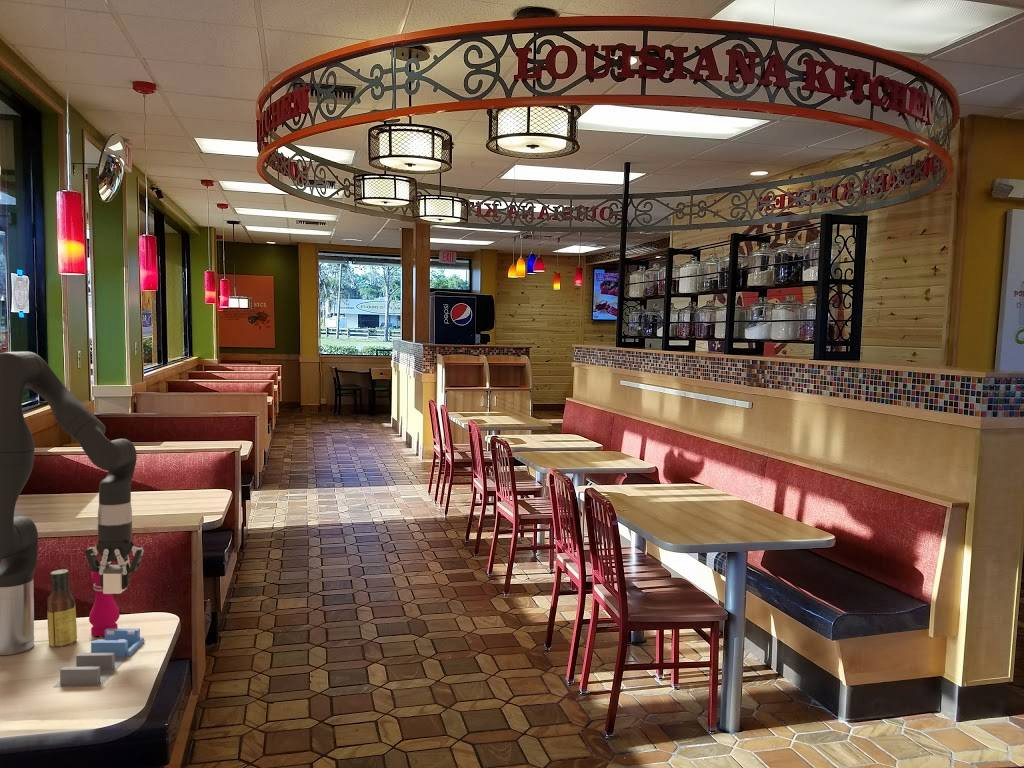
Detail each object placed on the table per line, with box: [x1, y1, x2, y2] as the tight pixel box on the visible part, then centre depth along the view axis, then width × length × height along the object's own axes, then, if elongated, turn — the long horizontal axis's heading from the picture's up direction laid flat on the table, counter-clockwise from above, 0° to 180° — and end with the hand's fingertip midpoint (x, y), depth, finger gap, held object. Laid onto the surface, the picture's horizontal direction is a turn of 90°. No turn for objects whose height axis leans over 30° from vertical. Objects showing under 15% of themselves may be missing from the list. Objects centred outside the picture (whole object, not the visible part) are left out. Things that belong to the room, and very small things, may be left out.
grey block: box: [103, 564, 128, 595], centre depth 189 cm, size 4×4×6 cm
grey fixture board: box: [53, 627, 146, 688], centre depth 183 cm, size 10×26×5 cm, turn 5°
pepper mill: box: [88, 561, 120, 637], centre depth 204 cm, size 7×7×20 cm
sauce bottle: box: [46, 568, 78, 648], centre depth 193 cm, size 7×6×20 cm
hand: (115, 588), depth 189 cm, fingers closed on grey block, 4 cm apart
